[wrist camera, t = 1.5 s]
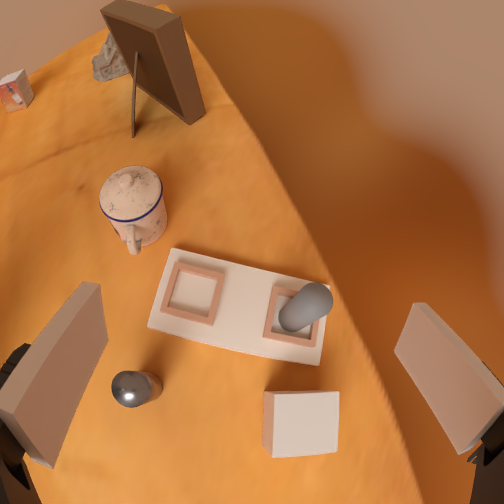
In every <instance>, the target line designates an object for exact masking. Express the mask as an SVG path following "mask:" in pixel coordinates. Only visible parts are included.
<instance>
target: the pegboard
mask: <svg viewBox="0 0 504 504" xmlns="http://www.w3.org/2000/svg"><path fill="white" fill-rule="evenodd" d="M332 306H333V297H332V294H331V292H330V285H325V284H321V283H318V282H312V281H308V280H304V279H300V278H295V277H291V276H287V275H283V274H278V273H274V272H270V271H266V270H262V269H258V268H253V267H249V266H245V265H241V264H237V263H233V262H229V261H225V260H221V259H217V258H213V257H209V256H204V255H200V254H196V253H192V252H188V251H184V250H180V249H177V248H173V247H172V248H171V250H170V253H169V256H168V259H167V262H166V265H165V268H164V271H163V275H162V278H161V281H160V284H159V287H158V290H157V294H156V297H155V300H154V303H153V307H152V310H151V313H150V317H149V320H148V324H147V327H148V328H150V329H154V330H157V331H160V332H164V333H167V334H171V335H174V336H178V337H182V338H185V339H189V340H193V341H196V342H200V343H204V344H208V345H212V346H216V347H220V348H225V349H229V350H233V351H238V352H242V353H247V354H252V355H256V356H261V357H266V358H271V359H277V360H282V361H287V362H293V363H299V364H305V365H311V366H319V364H320V358H321V351H322V345H323V338H324V332H325V324H326V317H327V314H328V313H329V312H330V310H331V308H332Z"/></svg>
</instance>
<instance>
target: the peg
mask: <svg viewBox="0 0 504 504" xmlns="http://www.w3.org/2000/svg"><path fill="white" fill-rule="evenodd" d="M111 388H112V393H113V396H114V398H115V399H116V400H117V401H118V402H119V403H120V404H121V405H123V406H125V407H130V408H133V407H137V406H140V405H142V404H145V403H147V402H150V401H152V400H155V399H157V398H158V397H159V396H160V395H161V393H162V390H163V385H162V382H161V380H160V378H159V377H158V376H157V375H155V374H153V373H150V372H138V371H122V372H120V373H118V374H117V375H116V376H115V377H114V379H113V381H112V387H111Z"/></svg>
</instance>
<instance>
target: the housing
mask: <svg viewBox="0 0 504 504" xmlns="http://www.w3.org/2000/svg"><path fill="white" fill-rule="evenodd" d="M338 426H339V391H328V390H305V391H264V410H263V440H262V445H263V447H264V448H265V449H266V450H267V452H268V453H269V454H270V455H271V457H272V458H279V457H295V456H306V455H316V454H324V453H332V452H337V447H338Z"/></svg>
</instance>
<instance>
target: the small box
mask: <svg viewBox="0 0 504 504" xmlns="http://www.w3.org/2000/svg"><path fill="white" fill-rule="evenodd" d="M33 98H34V93H33V91H32V88H31V86H30V83H29V80H28V77H27V75H26V72H25V69H23V70H20V71H18V72H15V73H12V74H9V75H6V76H4V78H3V79H2V80H1V81H0V99H1V101H2V103H3V105H4V107H5V109H6V111H7V113H10V112H13V111H17V110H21V109H26V108H27V107H28V105H29V104H30V102H31V101H32V99H33Z"/></svg>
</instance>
